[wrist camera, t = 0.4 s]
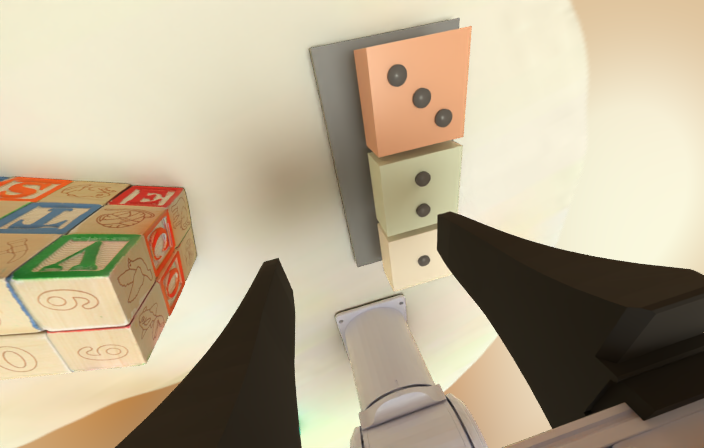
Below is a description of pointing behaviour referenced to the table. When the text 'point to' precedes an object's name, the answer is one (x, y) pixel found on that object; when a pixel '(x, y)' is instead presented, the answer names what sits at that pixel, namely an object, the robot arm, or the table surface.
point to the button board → (355, 130)
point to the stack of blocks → (87, 273)
